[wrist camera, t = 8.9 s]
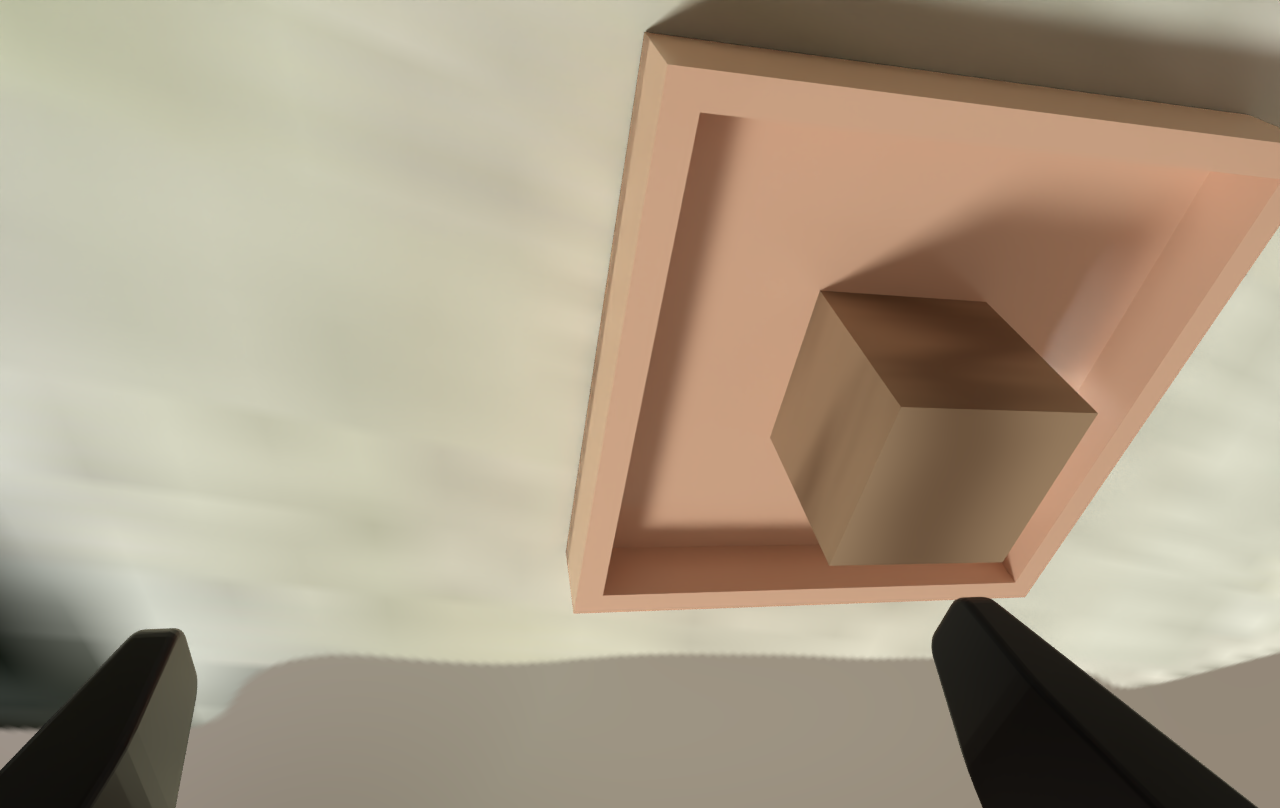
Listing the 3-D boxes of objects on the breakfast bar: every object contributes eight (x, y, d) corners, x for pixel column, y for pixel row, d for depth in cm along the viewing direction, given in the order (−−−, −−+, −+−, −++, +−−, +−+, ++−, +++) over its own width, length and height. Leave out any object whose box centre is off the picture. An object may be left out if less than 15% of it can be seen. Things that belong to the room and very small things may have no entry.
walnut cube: (985, 301, 22) (1098, 413, 18) (918, 440, 25) (1002, 562, 21) (819, 290, 21) (900, 406, 17) (769, 437, 24) (829, 565, 20)
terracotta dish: (1248, 114, 20) (1331, 149, 18) (988, 544, 30) (1025, 597, 28) (644, 32, 17) (667, 63, 15) (566, 551, 26) (573, 613, 24)
